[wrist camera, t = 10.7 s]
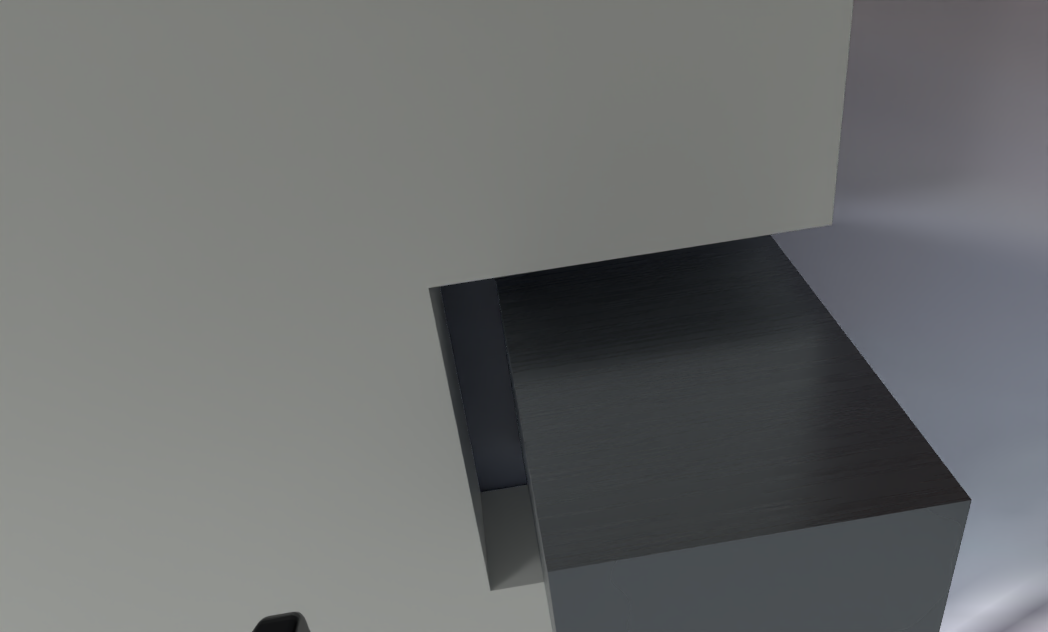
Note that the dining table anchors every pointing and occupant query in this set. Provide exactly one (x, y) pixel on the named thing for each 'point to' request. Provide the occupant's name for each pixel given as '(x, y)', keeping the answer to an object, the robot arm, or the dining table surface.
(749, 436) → the steel block
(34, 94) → the notched board
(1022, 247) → the dining table surface
